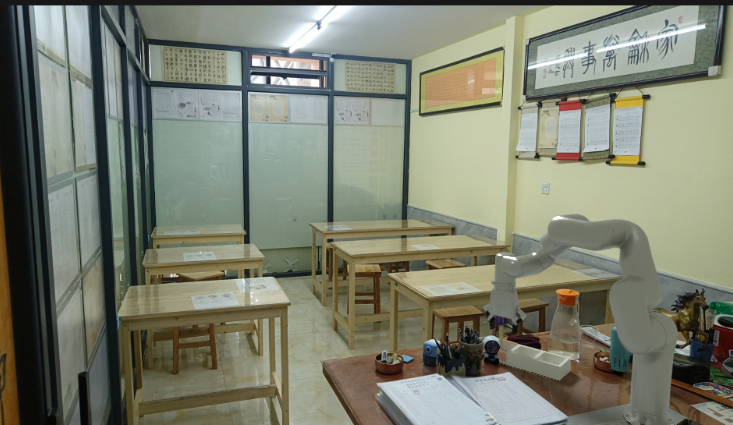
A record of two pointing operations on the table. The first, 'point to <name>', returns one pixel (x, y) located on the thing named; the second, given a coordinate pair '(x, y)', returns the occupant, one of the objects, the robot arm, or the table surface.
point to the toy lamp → (501, 329)
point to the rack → (534, 360)
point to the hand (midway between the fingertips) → (503, 331)
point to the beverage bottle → (618, 353)
